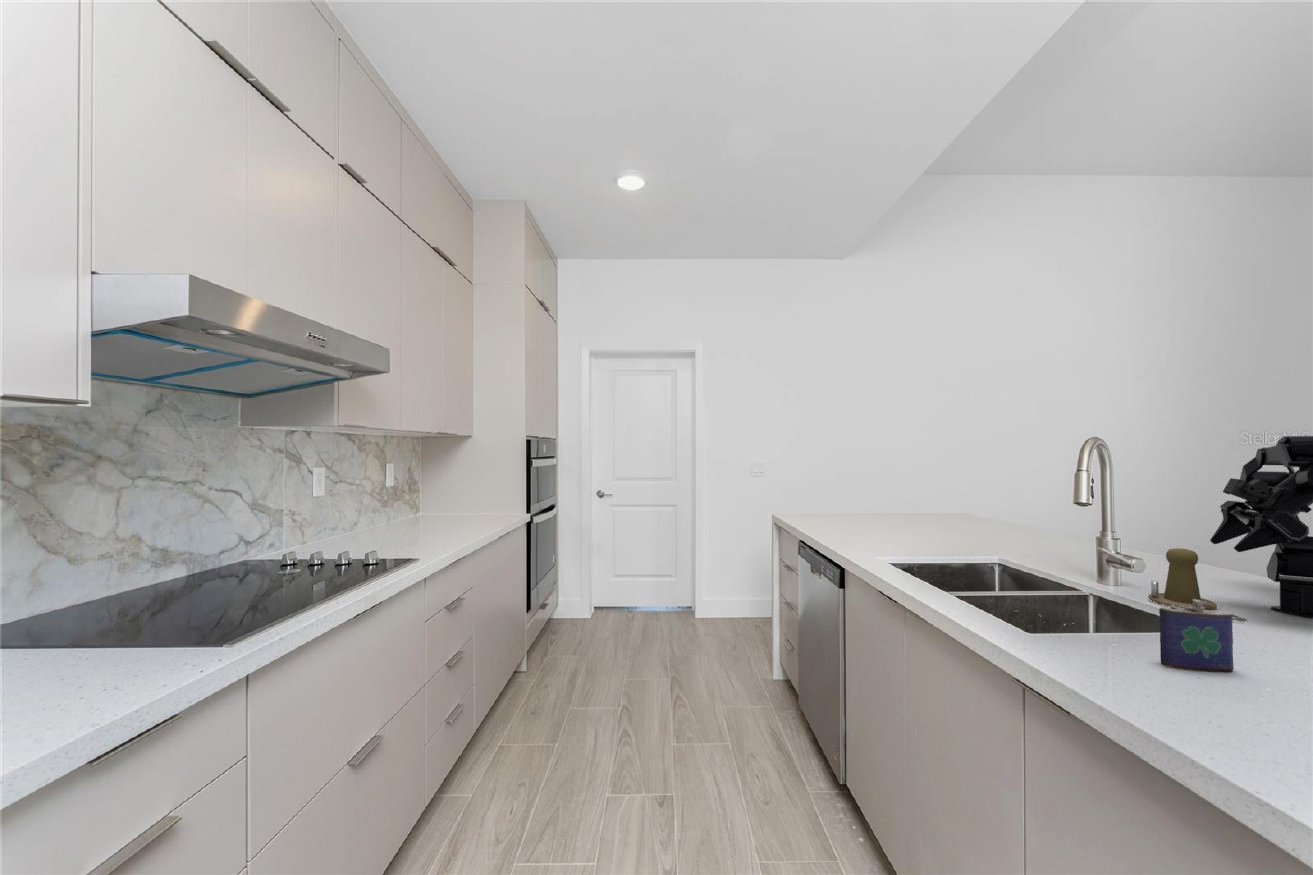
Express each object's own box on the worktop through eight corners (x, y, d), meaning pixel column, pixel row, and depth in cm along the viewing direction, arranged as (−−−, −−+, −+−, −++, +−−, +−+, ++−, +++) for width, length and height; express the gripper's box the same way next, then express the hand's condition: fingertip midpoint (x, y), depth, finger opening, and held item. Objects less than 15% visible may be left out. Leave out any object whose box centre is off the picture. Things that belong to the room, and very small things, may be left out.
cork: (1203, 605, 121) (1203, 552, 121) (1165, 600, 125) (1164, 549, 125) (1199, 598, 126) (1198, 548, 126) (1162, 594, 130) (1161, 545, 130)
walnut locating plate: (1170, 594, 133) (1170, 576, 133) (1229, 608, 122) (1229, 587, 122) (1135, 599, 129) (1135, 579, 129) (1193, 613, 119) (1193, 592, 119)
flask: (1227, 667, 91) (1226, 598, 91) (1239, 674, 88) (1239, 604, 88) (1156, 661, 94) (1155, 595, 94) (1166, 668, 91) (1166, 600, 91)
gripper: (1231, 463, 126) (1168, 512, 130) (1286, 467, 109) (1211, 523, 113) (1280, 500, 123) (1213, 549, 127) (1344, 511, 106) (1265, 567, 110)
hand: (1223, 546), depth 119 cm, fingers open, 9 cm apart
